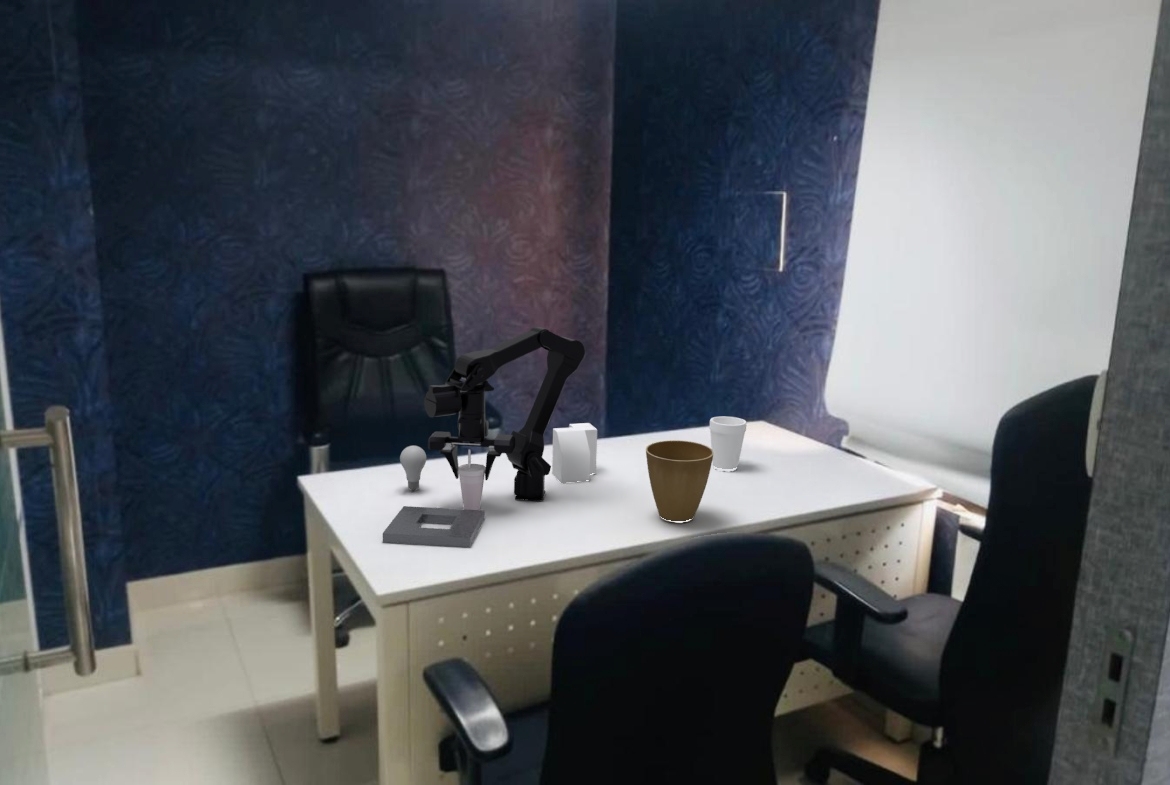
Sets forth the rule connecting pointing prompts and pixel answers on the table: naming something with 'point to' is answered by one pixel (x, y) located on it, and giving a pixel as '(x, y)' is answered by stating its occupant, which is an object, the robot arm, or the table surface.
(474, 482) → the smoothie
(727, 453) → the foam cup
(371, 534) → the table surface
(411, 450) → the lightbulb
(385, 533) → the square plate with hole
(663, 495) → the plant pot
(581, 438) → the white block
